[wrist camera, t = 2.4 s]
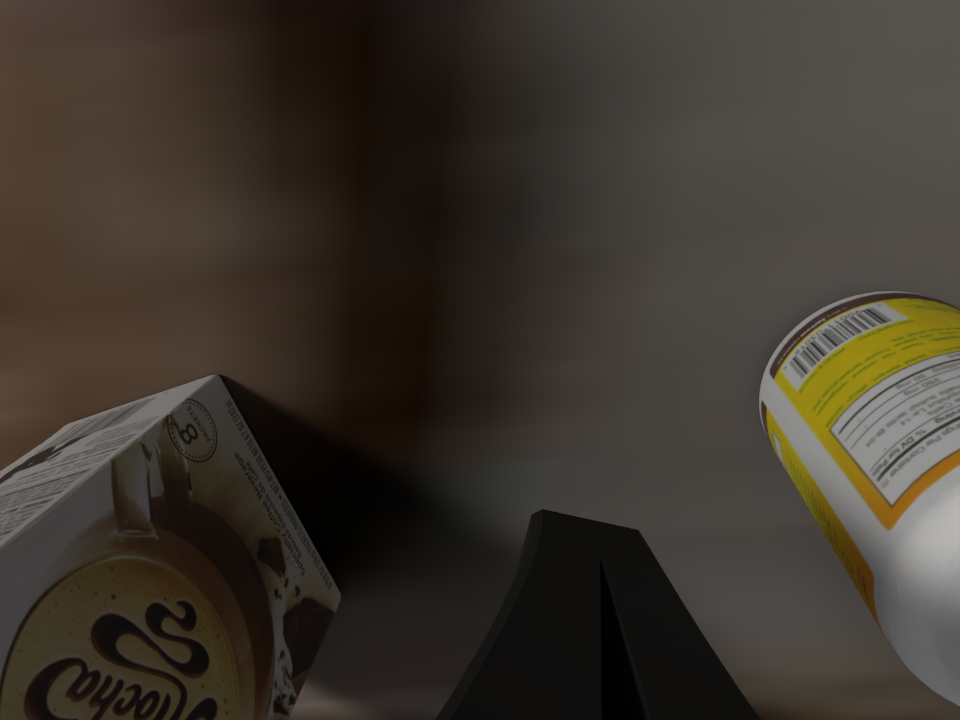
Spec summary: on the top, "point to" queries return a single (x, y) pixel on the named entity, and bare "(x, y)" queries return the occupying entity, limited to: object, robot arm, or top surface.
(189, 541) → the coffee box
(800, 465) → the supplement bottle
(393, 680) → the top surface
